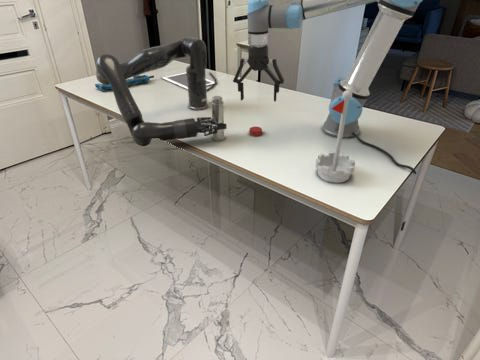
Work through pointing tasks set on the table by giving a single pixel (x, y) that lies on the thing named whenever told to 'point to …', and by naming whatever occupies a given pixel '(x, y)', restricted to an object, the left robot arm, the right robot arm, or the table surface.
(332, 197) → the table surface
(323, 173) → the flag stand
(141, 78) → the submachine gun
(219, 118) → the jar
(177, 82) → the tablet
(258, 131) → the lid
